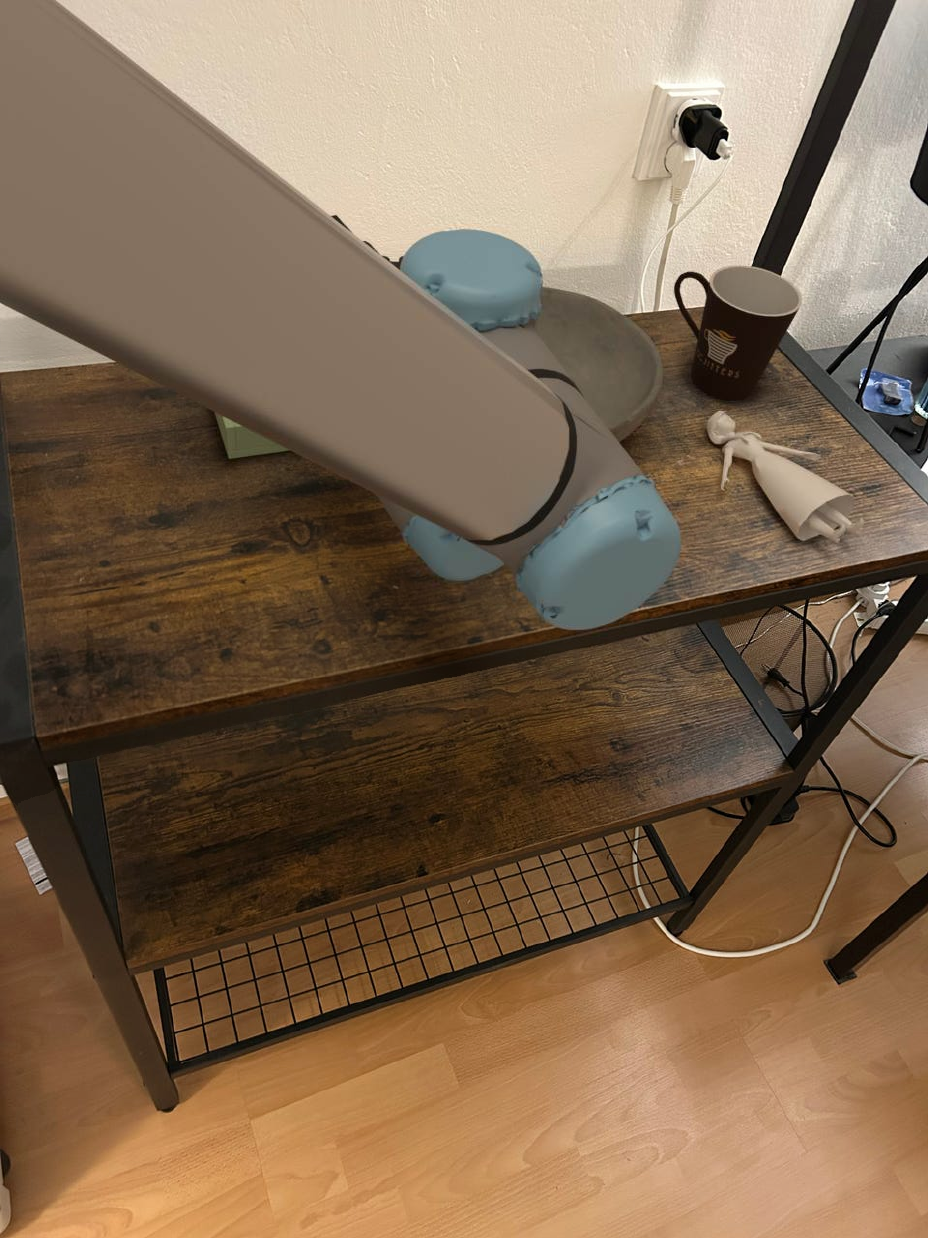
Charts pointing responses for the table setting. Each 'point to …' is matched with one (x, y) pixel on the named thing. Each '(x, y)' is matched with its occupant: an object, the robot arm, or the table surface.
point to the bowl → (602, 357)
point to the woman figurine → (787, 483)
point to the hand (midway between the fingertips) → (253, 243)
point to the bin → (244, 440)
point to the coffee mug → (738, 327)
